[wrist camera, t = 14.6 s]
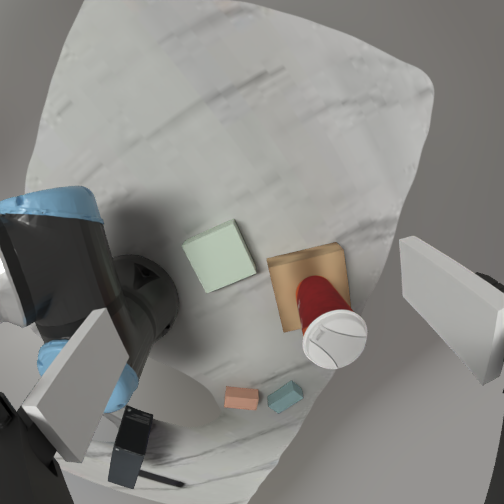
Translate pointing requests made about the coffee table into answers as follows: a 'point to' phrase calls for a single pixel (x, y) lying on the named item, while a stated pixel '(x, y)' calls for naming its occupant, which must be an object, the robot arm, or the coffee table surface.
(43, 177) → the coffee table surface
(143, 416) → the box
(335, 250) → the oak block
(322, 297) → the paper cup
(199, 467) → the coffee table surface
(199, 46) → the coffee table surface
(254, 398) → the brick
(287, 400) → the brick
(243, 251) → the sage pad
